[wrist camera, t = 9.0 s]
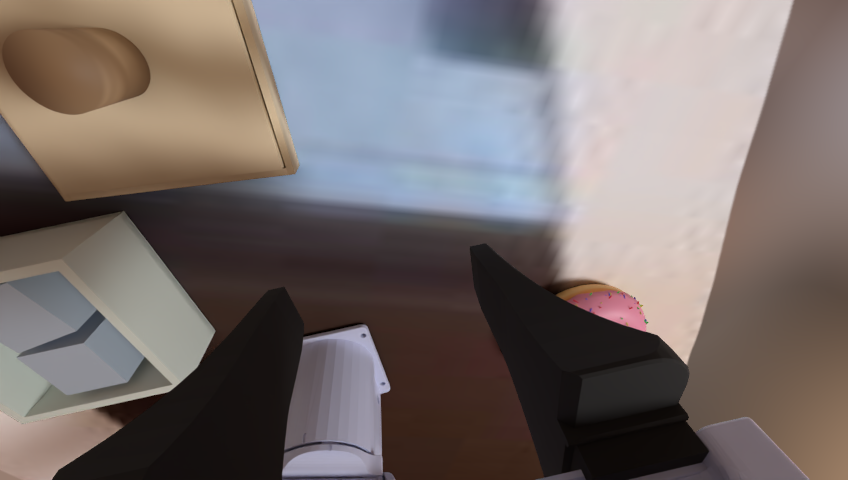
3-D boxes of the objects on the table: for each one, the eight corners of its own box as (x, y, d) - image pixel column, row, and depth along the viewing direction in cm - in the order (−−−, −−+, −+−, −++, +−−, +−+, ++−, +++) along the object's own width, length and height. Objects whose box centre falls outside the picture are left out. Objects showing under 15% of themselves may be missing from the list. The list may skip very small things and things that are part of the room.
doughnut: (506, 361, 34) (521, 399, 31) (530, 276, 28) (552, 312, 25) (604, 353, 36) (629, 389, 32) (646, 271, 30) (682, 304, 26)
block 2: (159, 335, 25) (127, 382, 22) (106, 346, 25) (67, 395, 22) (124, 297, 23) (83, 343, 20) (67, 309, 23) (16, 357, 20)
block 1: (119, 285, 23) (76, 331, 19) (69, 305, 23) (18, 353, 20) (65, 240, 21) (6, 282, 17) (10, 262, 21) (-58, 308, 18)
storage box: (215, 330, 27) (187, 387, 22) (77, 360, 26) (22, 424, 22) (124, 211, 21) (61, 258, 16) (-57, 248, 20) (-168, 307, 16)
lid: (299, 165, 20) (279, 204, 16) (83, 190, 20) (0, 239, 15) (214, -127, 14) (139, -198, 9) (-123, -107, 13) (-383, -175, 8)
